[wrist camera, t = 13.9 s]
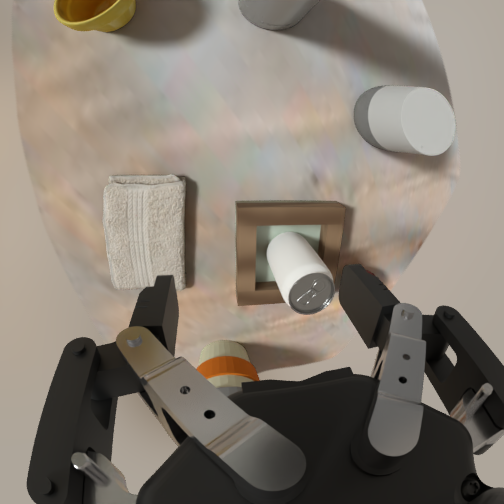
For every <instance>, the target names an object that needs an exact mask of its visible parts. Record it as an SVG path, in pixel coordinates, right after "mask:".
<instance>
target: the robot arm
mask: <svg viewBox="0 0 504 504" xmlns="http://www.w3.org/2000/svg"><path fill="white" fill-rule="evenodd" d="M319 1H320V0H239V8H240V10H241V12H242V14H243V15H244V17H245V18H246V19H247V20H249V21H250V22H251V23H253V24H255V25H256V26H258V27H261V28H264V29H270V30H282V29H287V28H290V27H292V26H294V25H295V24H297V23H298V22H299V21H300V20H301V19H302V18H303V17H304V16H305V15H306V14H307V13H308V12H309V11H310V10H311V9H312V8H313V7H314V6H315V5H316V4H317V3H318V2H319ZM339 301H340V304H341V306H342V307H343V309H344V311H345V312H346V314H347V315H348V317H349V318H350V320H351V322H352V323H353V325H354V326H355V328H356V330H357V331H358V333H359V334H360V336H361V338H362V339H363V341H364V343H365V344H366V346H367V347H368V348H373V347H379V350H378V353H377V356H376V359H375V363H374V367H373V370H372V374H371V377H369V376H365V375H359V374H353V372H352V370H351V368H350V367H346V368H341V369H337V370H331V371H326V372H323V373H321V374H318V375H316V376H313V377H311V378H308V379H306V380H303V381H282V380H262V381H251V382H241V389H242V391H238V392H236V393H233V394H231V395H229V396H227V397H226V396H225V395H224V394H223V393H222V392H221V391H219V390H218V389H217V388H216V387H215V386H214V385H213V384H212V383H210V382H209V381H208V380H207V379H206V378H205V377H204V376H203V375H202V374H201V373H200V372H198V371H197V370H196V369H195V368H194V367H193V366H192V365H191V364H190V363H189V362H188V361H187V360H186V359H185V358H183V357H179V358H177V359H176V358H174V354H175V344H176V335H177V326H178V317H179V308H178V300H177V293H176V287H175V280H174V276H173V275H157V277H156V280H155V283H154V286H151V287H146V288H145V289H144V290H143V291H142V292H141V293H140V294H139V297H138V300H137V303H136V306H135V309H134V312H133V315H132V318H131V321H130V324H129V328H127V329H125V330H123V331H121V332H120V333H119V335H118V336H117V338H116V342H113V343H110V344H105V345H101V346H96V344H95V342H94V341H93V340H92V339H90V338H86V337H81V338H77V339H74V340H72V341H71V342H69V343H68V344H67V345H66V346H65V348H64V351H63V353H62V356H61V359H60V361H59V364H58V366H57V369H56V372H55V374H54V377H53V380H52V383H51V386H50V389H49V392H48V395H47V398H46V402H45V405H44V408H43V412H42V415H41V419H40V422H39V426H38V430H37V434H36V438H35V442H34V446H33V451H32V456H31V461H30V466H29V471H28V477H27V489H28V493H29V495H30V497H31V498H32V500H33V501H34V502H35V503H36V504H504V488H493V487H490V486H487V485H485V484H484V483H483V482H481V480H480V479H479V477H478V475H477V473H476V469H475V464H474V457H473V454H475V455H480V454H483V453H484V452H485V451H487V450H488V449H489V448H490V447H491V446H492V445H493V444H494V443H495V442H496V441H498V440H499V439H500V438H501V437H502V436H503V435H504V366H503V365H502V363H501V362H500V361H499V359H498V358H497V357H496V356H495V355H494V353H493V352H492V351H491V350H490V348H489V347H488V346H487V344H486V343H485V342H484V341H483V340H482V339H481V337H480V336H479V335H478V334H477V333H476V331H475V330H474V329H473V328H472V327H471V326H470V325H469V323H468V322H467V321H466V320H465V319H464V318H463V317H462V316H461V314H460V313H459V312H458V311H457V310H455V309H454V308H452V307H449V306H439V307H438V308H437V309H436V312H435V314H434V315H422V313H421V311H420V310H419V309H418V308H417V307H415V306H413V305H411V304H407V303H400V302H399V301H398V300H397V298H396V297H395V296H394V295H393V294H392V293H391V292H390V290H388V288H387V287H386V286H385V285H383V283H382V282H381V281H380V280H379V278H377V277H376V276H374V275H372V274H371V273H368V272H367V271H366V270H365V269H364V267H363V266H362V265H361V264H353V265H345V266H344V268H343V273H342V279H341V284H340V289H339ZM449 345H450V346H451V348H452V349H453V350H454V352H455V353H456V355H457V363H456V365H455V367H454V365H453V364H452V363H451V361H450V359H449V358H448V357H447V355H446V354H445V352H446V350H447V348H448V346H449ZM424 372H425V373H426V375H427V377H428V378H429V380H430V382H431V383H432V385H433V387H434V388H435V390H436V392H437V393H438V395H439V397H440V399H441V400H442V402H443V404H444V406H445V407H446V409H447V411H448V413H449V415H450V416H448V415H446V414H444V413H442V412H440V411H438V410H436V409H434V408H432V407H430V406H428V405H426V404H424V403H422V402H421V397H422V390H423V380H424ZM132 393H138V395H139V396H140V397H141V399H142V400H143V401H144V403H145V404H146V405H147V407H148V408H149V409H150V410H151V412H152V413H153V414H154V415H155V417H156V418H157V419H158V421H159V422H160V423H161V424H162V426H163V428H164V429H165V431H166V432H167V434H168V435H169V436H170V438H171V439H172V440H173V441H174V442H175V444H176V445H177V446H178V448H177V449H176V450H175V451H174V453H173V454H172V455H171V456H170V457H169V458H168V459H167V460H166V461H165V462H164V464H163V465H162V466H161V467H160V468H159V469H158V470H157V471H156V472H155V473H154V474H153V475H152V476H151V477H150V478H149V479H148V480H147V481H146V483H145V484H144V485H143V486H142V487H141V489H140V491H139V493H138V495H134V494H131V493H129V491H128V489H127V486H126V480H125V477H124V475H123V474H122V473H121V471H119V469H117V468H116V467H115V466H114V465H113V464H112V463H111V455H112V443H113V432H114V424H115V414H116V407H117V400H118V397H119V396H123V395H127V394H132Z"/></svg>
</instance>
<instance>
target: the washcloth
mask: <svg viewBox="0 0 504 504" xmlns="http://www.w3.org/2000/svg"><path fill="white" fill-rule="evenodd" d="M108 184H109V185H107V186H106V187H105V189H104V196H103V198H104V210H103V211H104V215H103V226H104V233H105V239H106V249H107V255H108V260H109V265H110V274H111V278H112V283H113V285H114V287H115V289H119V290H130V289H138V288H146V287H151V286H154V283H155V280H156V277H157V275H173V276H174V280H175V287H176V290H180V291H181V290H184V289H185V287H186V283H185V280H186V279H185V274H186V272H185V261H184V260H185V255H184V254H185V245H184V244H185V234H184V229H185V227H184V216H185V211H184V210H185V196H186V193H185V192H186V187H185V185H186V181H185V177H177V176H176V175H174V174H170V175H113V176H109V181H108Z"/></svg>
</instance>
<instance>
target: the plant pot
mask: <svg viewBox="0 0 504 504" xmlns="http://www.w3.org/2000/svg"><path fill="white" fill-rule="evenodd" d="M135 9H136V2H135V0H55V2H54V13H55V16H56V18H57V20H58V21H59V22H61V23H62V24H64V25H65V26H67V27H69V28H71V29H74V30H77V31H91V30H97V31H102V32H111V31H115V30H117V29H119V28H121V27H123V26H124V25H126V24H127V23H128V22H129V21H130V20H131V18H132V17H133V15H134V13H135Z"/></svg>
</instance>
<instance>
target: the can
mask: <svg viewBox="0 0 504 504" xmlns="http://www.w3.org/2000/svg"><path fill="white" fill-rule="evenodd" d="M267 260H268V263H269V265H270V268H271V270H272V273H273V275H274V278H275V280H276V283H277V285H278V287H279V290H280V292H281V295H282V297H283V299H284V301H285V302H286V303H287V304H288V305H289V306H290V307H291V308H292V309H293V310H294V311H295V312H297V313H299V314H304V315H310V314H314V313H317V312H320V311H321V310H323V309H324V308H326V307H327V306H328V305H329V304H330V302H331V301H332V299H333V297H334V294H335V285H334V282H333V277H332V274H331V272H330V271H329V269H328V268H327V266H326V265H325V264H324V262H323V261H322V260H321V258H320V257H319V256H318V254H317V253H316V252H315V250H314V249H313V248H312V247H311V245H310V244H309V243H308V242H307V240H306V239H305V238H304V237H303V236H301V235H300V234H298V233H295V232H285V233H281V234H279V235H277V236H276V237H275V238H274V239H273V240H272V241H271V242H270V244H269V245H268V248H267Z"/></svg>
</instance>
